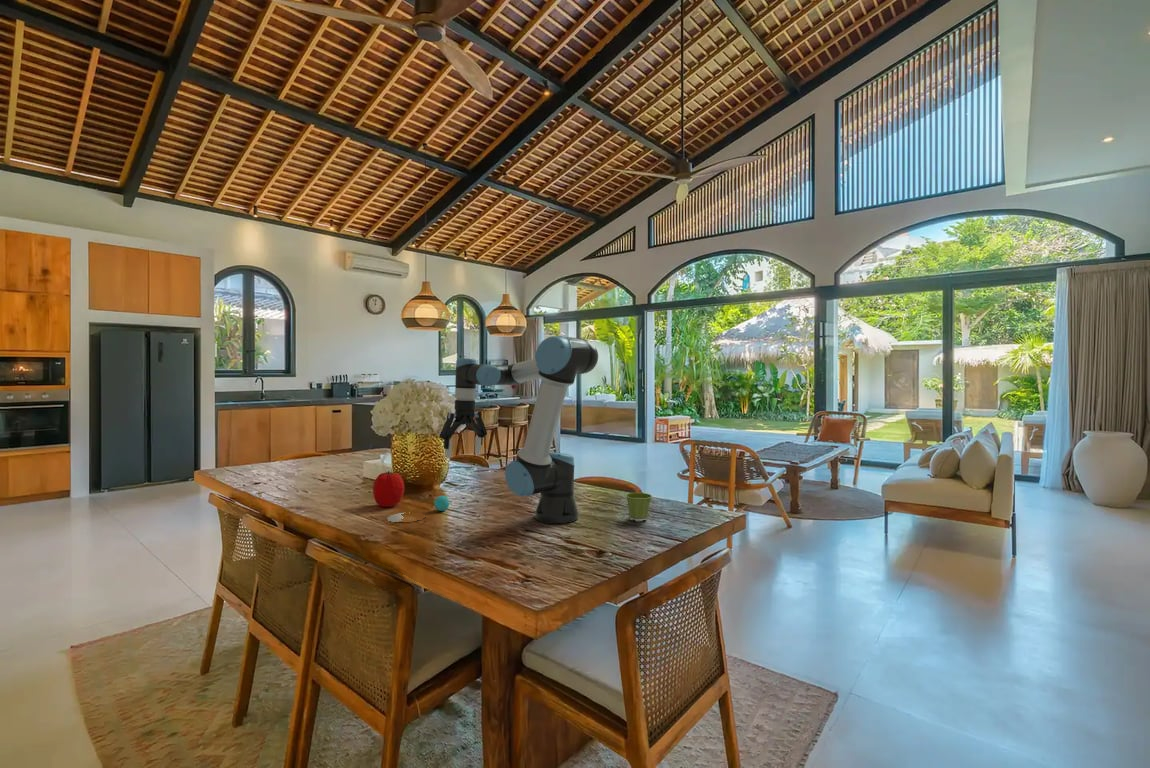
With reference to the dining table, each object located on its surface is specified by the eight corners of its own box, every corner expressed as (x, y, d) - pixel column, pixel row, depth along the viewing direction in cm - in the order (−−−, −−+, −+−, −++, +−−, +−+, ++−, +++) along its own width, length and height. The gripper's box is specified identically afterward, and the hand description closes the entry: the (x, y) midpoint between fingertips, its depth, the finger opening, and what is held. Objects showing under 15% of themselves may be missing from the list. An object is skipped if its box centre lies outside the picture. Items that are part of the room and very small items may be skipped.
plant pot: (624, 523, 182) (624, 497, 182) (625, 515, 192) (625, 491, 191) (652, 524, 181) (652, 499, 181) (651, 517, 191) (651, 492, 190)
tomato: (364, 508, 197) (364, 472, 196) (388, 501, 208) (388, 467, 208) (389, 511, 192) (389, 475, 192) (411, 504, 203) (412, 469, 203)
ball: (452, 509, 197) (452, 494, 197) (445, 513, 191) (445, 497, 191) (438, 508, 198) (438, 493, 198) (431, 512, 193) (431, 496, 192)
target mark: (433, 514, 189) (433, 513, 189) (413, 524, 177) (413, 523, 177) (400, 511, 192) (400, 511, 192) (379, 521, 180) (379, 520, 180)
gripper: (485, 397, 211) (483, 451, 212) (430, 399, 192) (428, 457, 193) (497, 399, 206) (495, 453, 207) (442, 401, 187) (440, 460, 188)
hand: (463, 455), depth 200 cm, fingers open, 13 cm apart
